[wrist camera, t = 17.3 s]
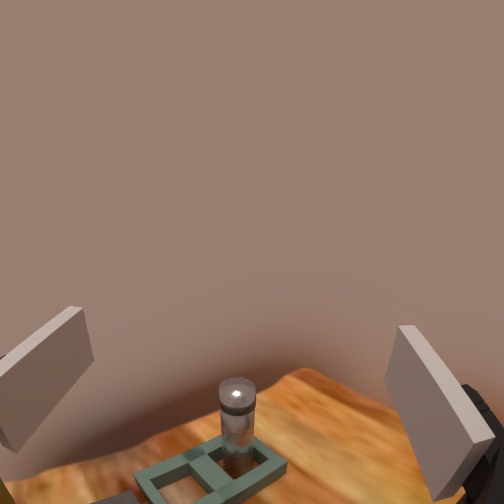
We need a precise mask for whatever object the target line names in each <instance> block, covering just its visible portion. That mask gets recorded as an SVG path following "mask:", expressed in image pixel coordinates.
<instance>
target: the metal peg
mask: <svg viewBox="0 0 504 504" xmlns="http://www.w3.org/2000/svg"><path fill="white" fill-rule="evenodd" d="M255 406H256V395H255V385H254V383H253V382H252V381H250V380H248V379H246V378H242V377H232V378H228V379H226V380H224V381H223V382H222V383H221V384H220V386H219V407H220V415H221V433H222V449H223V464H224V471H225V472H226V473H227V474H228V475H229V476H230V477H231V478H233V479H238V478H239V477H241V476H243V475H244V474H246V473H248V472H249V471H251V470H252V465H253V440H254V413H255Z"/></svg>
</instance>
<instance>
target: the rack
mask: <svg viewBox="0 0 504 504" xmlns="http://www.w3.org/2000/svg"><path fill="white" fill-rule="evenodd" d="M222 458H223V449H222V434H221V435H219V436H217V437H215V438H213V439H211V440H209V441H207V442H205V443H203V444H201V445H199V446H196V447H194V448H192V449H190V450H188V451H186V452H183V453H181V454H179V455H177V456H174V457H172V458H170V459H167V460H165V461H162V462H160V463H158V464H155V465H153V466H150V467H148V468H145V469H143V470H140V471H137V472H135V473H133V475H134V478H135V480H136V482H137V485H138V486H139V488H140V489H141V491H142V492H143V493H144V495H145V496H146V498H147V499H148V501H149V502H150V503H151V504H168V503H167V502H166V501H165V500H164V498H163V497H162V496H161V494H160V493H159V492H158V490H157V489H159V488H161V487H164V486H166V485H168V484H171V483H173V482H175V481H177V480H180V479H182V478H184V477H186V476H188V475H190V474H191V475H192V476H193V478H194V479H195V480H196V481H197V482H198V483H199V484H200V485H201V486H202V487H203V488H204V489H205V490H206V491H207V492H208V493H209V494H208V495H207V496H205V497H203V498H201V499H199V500H197V501H195V502H193V503H191V504H239V503H241V502H242V501H244V500H246V499H247V498H249V497H250V496H252V495H254V494H255V493H257V492H258V491H260V490H261V489H263V488H265V487H266V486H268V485H269V484H271V483H272V482H273V481H275V480H276V479H278V478H279V477H281V476H282V475H284V474H285V473H286V469H287V463H288V461H287V460H285V459H284V458H282V457H281V456H280V455H278V454H277V453H276V452H274V451H273V450H272V449H270V448H269V447H268V446H266V445H265V444H264V443H262V442H261V441H260V440H259V439H257V438H256V437H255V436H254V440H253V459H254V460H255V461H257V462H258V463H259V464H260V465H259V466H257V467H256V468H254V469H253V470H251V471H249V472H248V473H246V474H244V475H243V476H241V477H239V478H238V479H236V480H233V479H232V478H231V477H230V476H229V475H228V474H227V473H226V472H225V471H224V470H223V469H222V468H221V467H220V466H218V465H217V464H216V463H215V462H216V461H218V460H220V459H222Z"/></svg>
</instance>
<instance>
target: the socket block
mask: <svg viewBox="0 0 504 504" xmlns="http://www.w3.org/2000/svg"><path fill="white" fill-rule="evenodd" d="M90 504H140V503H139V501H138V500H137V498H136V497H135V495H134V494H133V492H132V491H131V490H129V491H127V492H124V493H121V494H118V495H115V496H112V497H109V498H106V499H103V500H100V501H97V502H94V503H90Z"/></svg>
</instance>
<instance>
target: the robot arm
mask: <svg viewBox="0 0 504 504" xmlns="http://www.w3.org/2000/svg"><path fill="white" fill-rule="evenodd" d="M93 362H94V358H93V353H92V349H91V345H90V340H89V335H88V331H87V326H86V321H85V316H84V311H83V308H79V307H73V306H69V307H68V308H66V309H65V310H64V311H63V312H61V313H60V314H58V315H57V316H56V317H54V318H53V319H52V320H50V321H49V322H48V323H47V324H45V325H44V326H43V327H41V328H40V329H39V330H37V331H36V332H35V333H34V334H32V335H31V336H30V337H28V338H27V339H26V340H25V341H23V342H22V343H21V344H19V345H18V346H17V347H16V348H15V349H13V350H12V351H11V352H10V353H8V354H6V355H4V356H2V357H1V358H0V442H1V444H2V445H3V447H5V448H7V449H9V450H11V451H12V452H14V453H16V454H17V453H18V452H19V450H20V449H21V448H22V447H23V445H24V444H25V443H26V442H27V440H28V439H29V438H30V437H31V436H32V434H33V433H34V432H35V431H36V429H37V428H38V427H39V426H40V424H41V423H42V422H43V421H44V420H45V418H46V417H47V416H48V415H49V413H50V412H51V411H52V410H53V409H54V407H55V406H56V405H57V404H58V403H59V402H60V400H61V399H62V398H63V396H65V394H66V393H67V392H68V391H69V390H70V388H71V387H72V386H73V385H74V384H75V383H76V381H77V380H78V379H79V378H80V377H81V376H82V375H83V373H84V372H85V371H86V370H87V369H88V367H89V366H90V365H91V364H92V363H93ZM384 382H385V384H386V387H387V389H388V391H389V393H390V396H391V398H392V400H393V402H394V405H395V407H396V409H397V412H398V414H399V416H400V419H401V421H402V424H403V426H404V428H405V431H406V433H407V436H408V438H409V441H410V443H411V445H412V448H413V450H414V453H415V455H416V458H417V461H418V463H419V466H420V468H421V471H422V474H423V476H424V479H425V481H426V484H427V487H428V490H429V492H430V495H431V498H432V501H433V502H435V501H438V500H442V499H445V498H449V497H452V496H454V495H455V494H456V492H457V491H458V490H459V489H460V487H461V486H462V485H463V487H464V490H465V492H466V493H465V494H464V495H463V496H462V498H461V499H460V500H459V501H458V502H457V503H456V504H504V428H503V426H502V425H501V423H500V422H499V421H498V419H497V418H496V416H495V415H494V414H493V412H492V411H490V408H489V407H488V405H487V404H486V403H484V400H483V399H482V397H481V396H480V394H479V393H478V392H477V391H475V390H474V389H473V388H471V387H470V386H469V385H467V384H465V385H460V384H459V383H458V382H457V380H456V379H455V377H454V376H453V375H452V373H451V372H450V371H449V369H448V368H447V367H446V365H445V364H444V363H443V361H442V360H441V359H440V358H439V356H438V355H437V353H436V352H435V351H434V350H433V348H432V347H431V346H430V344H429V343H428V342H427V341H426V340H425V338H424V337H423V335H422V334H421V333H420V332H419V330H418V329H417V328H416V327H415V325H408V326H398V328H397V332H396V337H395V341H394V345H393V350H392V353H391V357H390V361H389V365H388V369H387V372H386V376H385V380H384Z"/></svg>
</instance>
